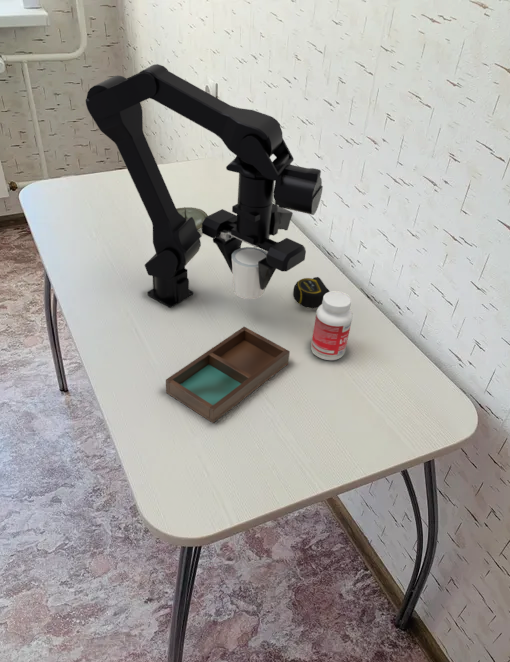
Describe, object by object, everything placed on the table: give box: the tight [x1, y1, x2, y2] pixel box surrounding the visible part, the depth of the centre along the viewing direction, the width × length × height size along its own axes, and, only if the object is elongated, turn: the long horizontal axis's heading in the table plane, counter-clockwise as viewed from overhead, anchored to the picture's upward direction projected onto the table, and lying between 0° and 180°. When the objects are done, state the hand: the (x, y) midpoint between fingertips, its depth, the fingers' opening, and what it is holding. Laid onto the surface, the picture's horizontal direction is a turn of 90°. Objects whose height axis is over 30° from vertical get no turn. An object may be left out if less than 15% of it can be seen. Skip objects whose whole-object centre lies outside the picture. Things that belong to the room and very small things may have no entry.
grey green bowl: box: [176, 206, 209, 231], centre depth 139 cm, size 11×10×5 cm
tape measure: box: [292, 276, 331, 309], centre depth 120 cm, size 7×7×4 cm
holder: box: [165, 326, 291, 424], centre depth 102 cm, size 10×19×3 cm, turn 141°
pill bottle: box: [310, 290, 353, 361], centre depth 106 cm, size 6×6×11 cm
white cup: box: [231, 246, 267, 300], centre depth 110 cm, size 7×7×7 cm
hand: (249, 281), depth 111 cm, fingers closed on white cup, 6 cm apart
